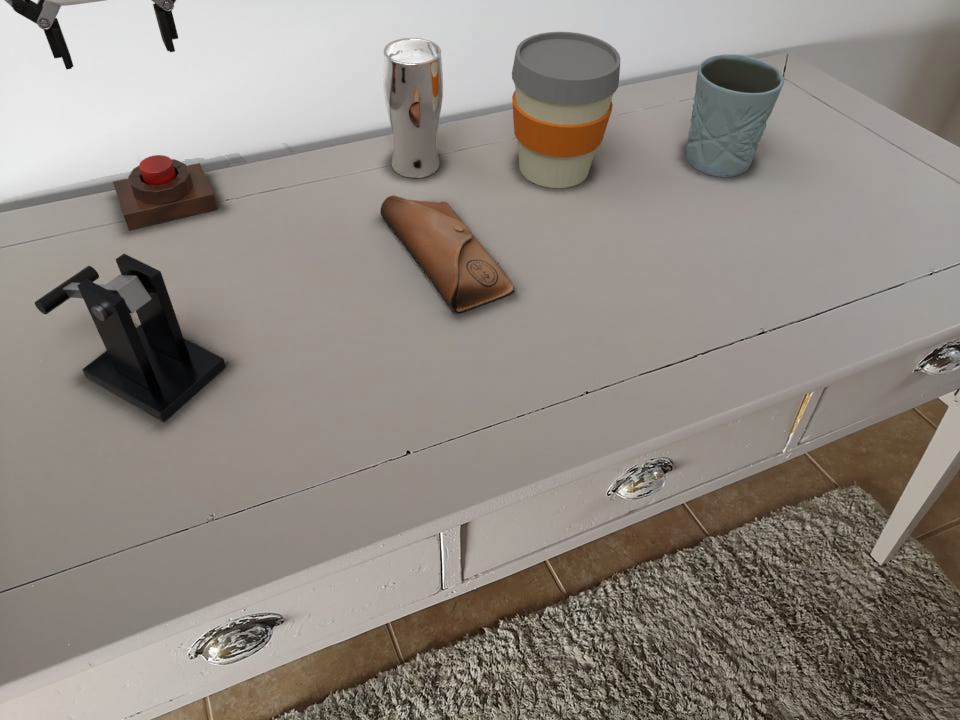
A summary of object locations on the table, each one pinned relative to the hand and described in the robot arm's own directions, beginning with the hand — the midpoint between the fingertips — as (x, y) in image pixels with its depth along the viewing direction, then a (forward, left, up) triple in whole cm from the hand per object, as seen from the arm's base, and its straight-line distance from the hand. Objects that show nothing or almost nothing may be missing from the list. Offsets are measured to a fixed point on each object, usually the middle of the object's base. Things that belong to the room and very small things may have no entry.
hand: (119, 54), depth 78 cm
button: (0, 0, -15) cm, 15 cm away
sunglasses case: (+34, +1, -18) cm, 39 cm away
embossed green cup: (+62, +31, -18) cm, 72 cm away
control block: (0, 0, -18) cm, 18 cm away
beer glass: (+25, +17, -18) cm, 36 cm away
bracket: (+13, -24, -18) cm, 33 cm away
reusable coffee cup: (+42, +22, -18) cm, 51 cm away
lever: (+9, -23, -11) cm, 27 cm away
